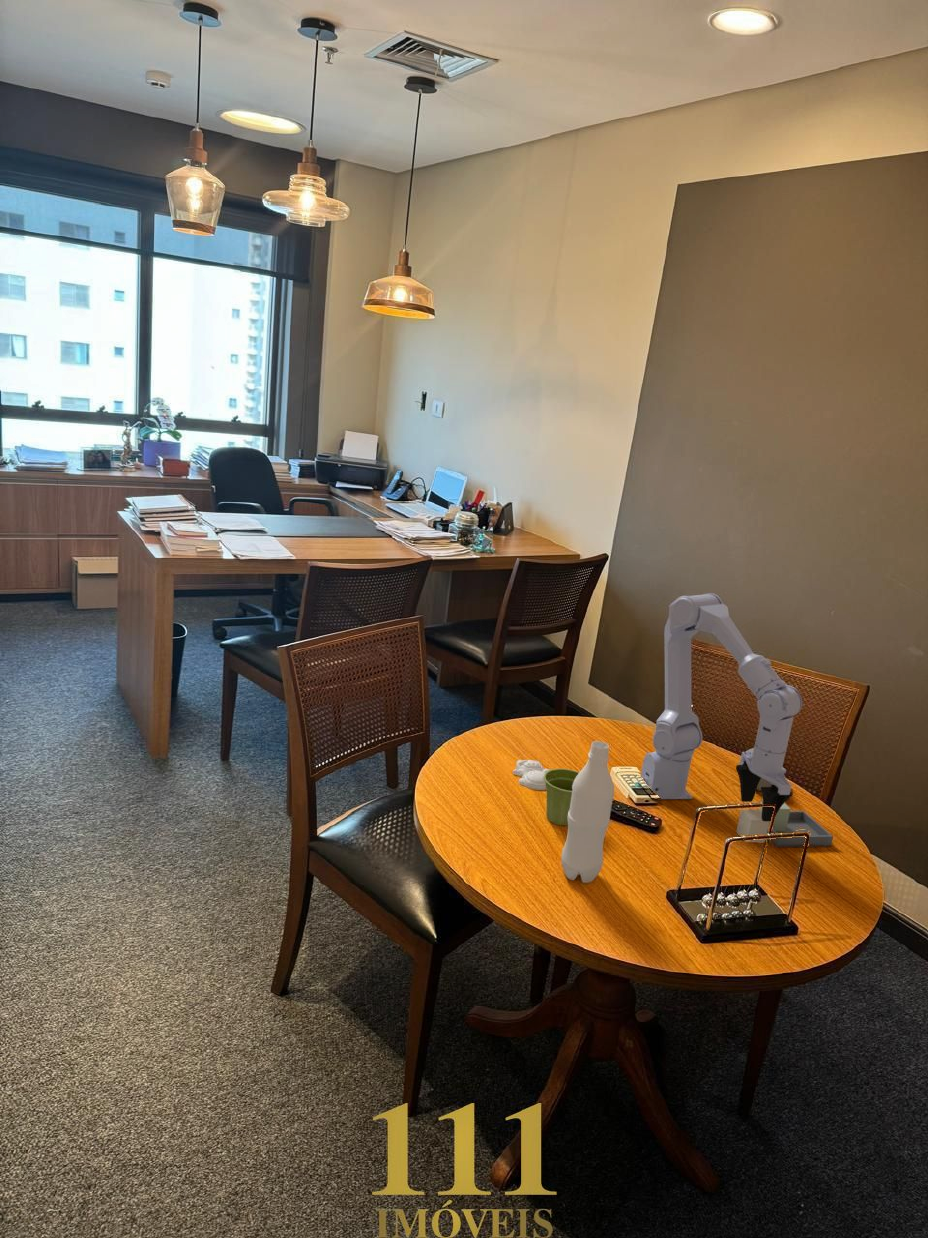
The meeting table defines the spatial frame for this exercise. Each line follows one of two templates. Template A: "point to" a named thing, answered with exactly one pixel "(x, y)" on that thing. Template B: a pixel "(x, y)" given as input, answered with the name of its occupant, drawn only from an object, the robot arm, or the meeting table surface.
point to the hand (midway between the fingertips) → (756, 810)
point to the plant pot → (559, 794)
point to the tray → (803, 822)
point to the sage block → (781, 818)
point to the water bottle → (589, 816)
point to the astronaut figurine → (531, 774)
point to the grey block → (752, 824)
